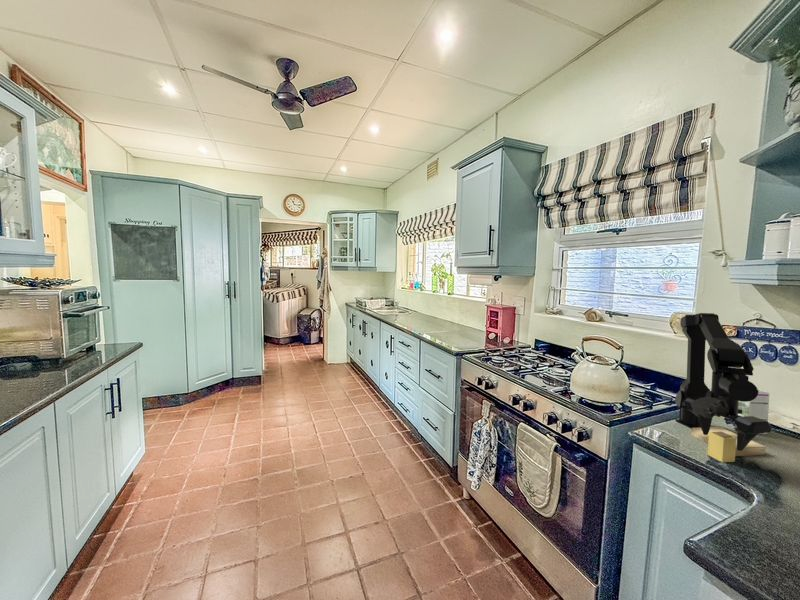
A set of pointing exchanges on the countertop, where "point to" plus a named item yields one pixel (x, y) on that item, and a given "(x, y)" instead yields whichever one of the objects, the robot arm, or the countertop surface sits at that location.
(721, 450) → the mustard block
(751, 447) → the cutting board
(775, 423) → the countertop surface
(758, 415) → the syrup box
